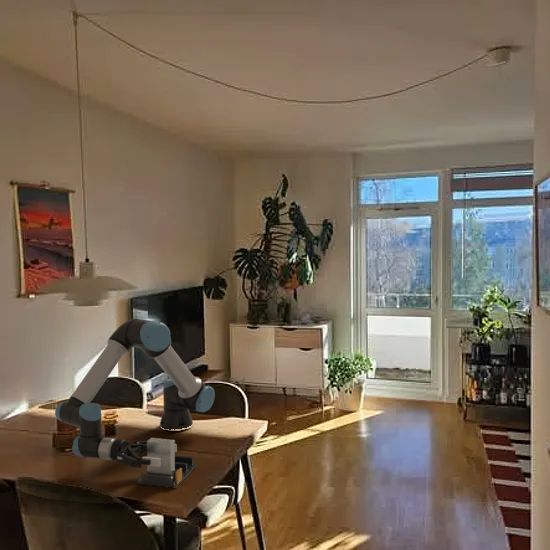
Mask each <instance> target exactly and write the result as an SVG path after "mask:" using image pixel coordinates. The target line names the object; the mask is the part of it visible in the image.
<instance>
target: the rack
mask: <svg viewBox="0 0 550 550" xmlns="http://www.w3.org/2000/svg"><path fill="white" fill-rule="evenodd" d="M196 466H197V467H198V464H197V463H194V457H193V456H183V455H176V454H175V479H174V477H169V476H161V475H152V474H147V472H146V473H141V474H140V477H139V478H138V479H137V481H136V483H141V484H140V485H143V484H148V485H147V486H152V485H157V486H156V487H160V486H168V487H177V486H178V485H179V484H180V483H181V482H182V481H183V480H184V479H185V478H186V477H187V476H188V475H189V474H190V473H191V471H192V470H193V469H194V468H195V467H196ZM197 467H196V468H197ZM196 468H195V469H196ZM195 469H194V470H195ZM194 470H193V471H194ZM191 474H192V473H191ZM191 474H190V475H191ZM190 475H189V476H190ZM189 476H188V477H189ZM188 477H187V478H188ZM187 478H186V479H187ZM186 479H185V480H186ZM185 480H184V481H185ZM184 481H183V482H184ZM183 482H182V483H183ZM182 483H181V484H182ZM181 484H180V485H181ZM180 485H179V486H180ZM179 486H178V487H179ZM168 487H167V488H168Z"/></svg>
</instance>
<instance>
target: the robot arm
mask: <svg viewBox="0 0 550 550" xmlns="http://www.w3.org/2000/svg"><path fill="white" fill-rule="evenodd" d="M171 335H172V334H171V331H170V328H169V327H168V326H167V325H166V324H165V323H163V322H160V321H157V320H150V319H142V318H141V319H140V318H132V319H128V320H126V321H125V322H123V323H122V324H120V325H119V327H117V328H116V330H114V331H113V333H112V334H111V336H109V338H108V340H106V342H107V345H106V346H105V348H104V349H103V350H102V352H101V354H100V355H99V356H98V358H97V359H96V361H95V362H94V363H93V365H92V366H91V367H90V369H89V370H88V371H87V373H86V374H85V376H84V378H83V379H81V382H80V383H79V384H78V385H77V387H76V389H75V390H74V391H73V392H72V394H71V395H70V397H69V398H68V399H67V400H66V401H62V402H60V403H59V404H58V405H57V406H56V408H55V410H54V416H55V418H56V420H58V421H60V422H62V423H63V424H67V425H71V426H73V427H76V428H79V435H77V436H76V437H75V438H74V440H73V444H72V453H73V454H74V455H75V456H77V457H82V458H84V459H85V458H87V459H88V458H89V459H100V460H106V462H107V461H116V462H121V463H124V464H125V465H127V466H129V467H132V468H137V469H141V468H142V466H146V467H147V466H156V467H160V466H161V458H153V457H147V456H142V457H141V456H140V455H141V454H143V453H145V452H146V453H147V441H148V440H142V441H141V440H135V441H134V443H131V444H130V443H129V441H128V440H127V439H124V438H121V439H120V438H115V437H103V436H102V415H103V414H102V407H101V405H100V404H99V403H96V402H92V400H94V398H95V396H96V395H97V393H98V392H99V390H100V389H101V388H102V387H103V385H104V383H105V382H106V380H107V379H108V378H109V376H110V374H111V373H112V372H113V370H114V369H115V367H116V366H117V365H118V363H119V361H121V359H122V358H123V357H124V356H123V355H127V354H128V353H129V352H130V350H131V349H132V348H136V349H137V348H138V349H140V350H141V351H142V352H143V353H144V354H145V355H146V357H148V358H150V359H154V361H156V363H157V365H159V367H160V368H161V370H163V371H164V373H165V374H166V376H167V377H168V378H166V379H165V380H164V381H163V387H162V388H163V389H162V393H163V394H162V395H163V412H162V415H161V418H160V421H159V427H160V426H161V427H162V428H164V429H169V430H171V429H174V430H175V429H182V428H187V427H189V426H191V425H192V424H193V422H194V421H193V418H192V415H191V412H190V410H191V411H196V412H197V413H200V412H201V413H205V412H207V411H209V410H210V409H211V408H212V406H213V404H214V401H215V397H216V395H215V394H216V393H215V389H214V388H213V387H212V386H210V385H206V384H205V383H204V382H203V381H202V379H201V378H200V377H198V376H194V374H193V373H192V372H191V370H190V369H189V367H187V365H186V364H185V363H184V361H183V360H182V359H181V357H180V355H178V354H177V352H176V351H175V350H174V348H173V346H172V345H171V344H172V338H171V337H172V336H171ZM193 425H194V424H193ZM177 452H178V445H177V444H176V443H175V453H177ZM139 454H140V455H139Z"/></svg>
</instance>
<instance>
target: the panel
mask: <svg viewBox="0 0 550 550" xmlns="http://www.w3.org/2000/svg"><path fill="white" fill-rule="evenodd" d="M146 441H147V451H146V457H153V458H161V466H160V467H156V466H147V465H146V473H147V474H152V475H161V476H169V477H174V479H175V455H176V452H175V444H176V440H175V439H168V438H159V437H158V438H157V437H150V438H149V439H148V440H146Z"/></svg>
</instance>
